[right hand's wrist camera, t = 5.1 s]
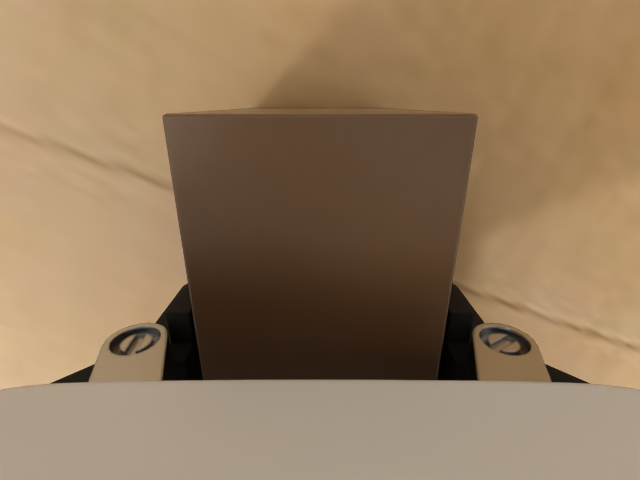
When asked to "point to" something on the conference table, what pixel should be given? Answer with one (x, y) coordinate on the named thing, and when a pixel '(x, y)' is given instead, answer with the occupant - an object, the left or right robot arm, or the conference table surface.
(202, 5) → the conference table surface
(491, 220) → the conference table surface
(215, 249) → the bar
